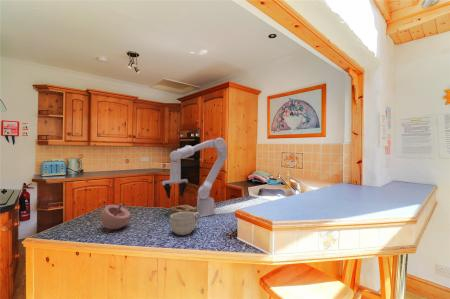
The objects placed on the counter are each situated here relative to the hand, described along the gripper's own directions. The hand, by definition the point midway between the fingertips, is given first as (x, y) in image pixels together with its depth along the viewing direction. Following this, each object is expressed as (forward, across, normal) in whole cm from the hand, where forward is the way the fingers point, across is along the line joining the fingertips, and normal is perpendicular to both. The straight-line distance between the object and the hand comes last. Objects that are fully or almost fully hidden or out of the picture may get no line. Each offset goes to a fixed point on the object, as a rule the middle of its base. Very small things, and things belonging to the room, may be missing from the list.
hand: (175, 196), depth 114 cm
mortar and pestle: (+10, +30, +2) cm, 32 cm away
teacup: (+10, +7, +25) cm, 28 cm away
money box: (+10, +1, +11) cm, 15 cm away
